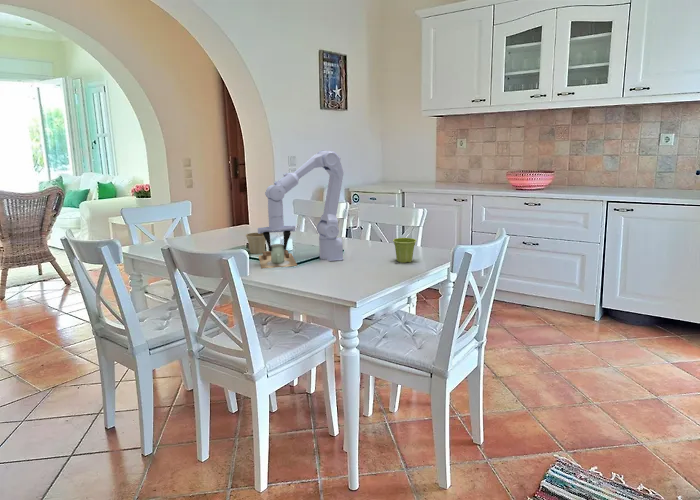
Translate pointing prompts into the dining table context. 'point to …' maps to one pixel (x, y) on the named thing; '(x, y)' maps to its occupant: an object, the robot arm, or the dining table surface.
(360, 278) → the dining table surface
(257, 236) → the flower pot
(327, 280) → the dining table surface
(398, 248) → the plant pot
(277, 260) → the sage green cylinder
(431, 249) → the dining table surface
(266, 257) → the board
